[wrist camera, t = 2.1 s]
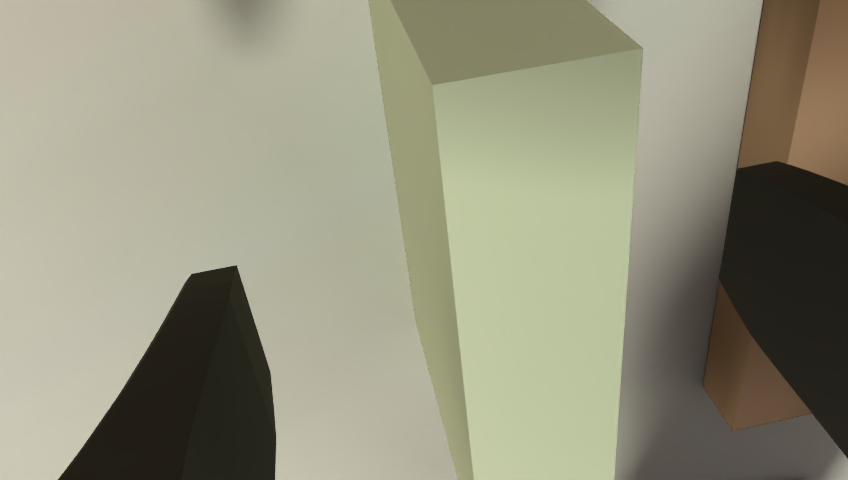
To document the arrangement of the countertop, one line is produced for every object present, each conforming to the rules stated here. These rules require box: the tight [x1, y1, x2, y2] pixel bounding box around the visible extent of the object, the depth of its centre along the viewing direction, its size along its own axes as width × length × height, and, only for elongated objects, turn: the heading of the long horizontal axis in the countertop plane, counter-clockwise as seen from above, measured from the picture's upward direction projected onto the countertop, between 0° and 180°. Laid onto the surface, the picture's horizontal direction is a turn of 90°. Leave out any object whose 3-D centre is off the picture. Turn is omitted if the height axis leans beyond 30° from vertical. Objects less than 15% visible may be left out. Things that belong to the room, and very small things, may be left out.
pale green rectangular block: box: [368, 0, 643, 480], centre depth 12 cm, size 8×2×6 cm, turn 6°
